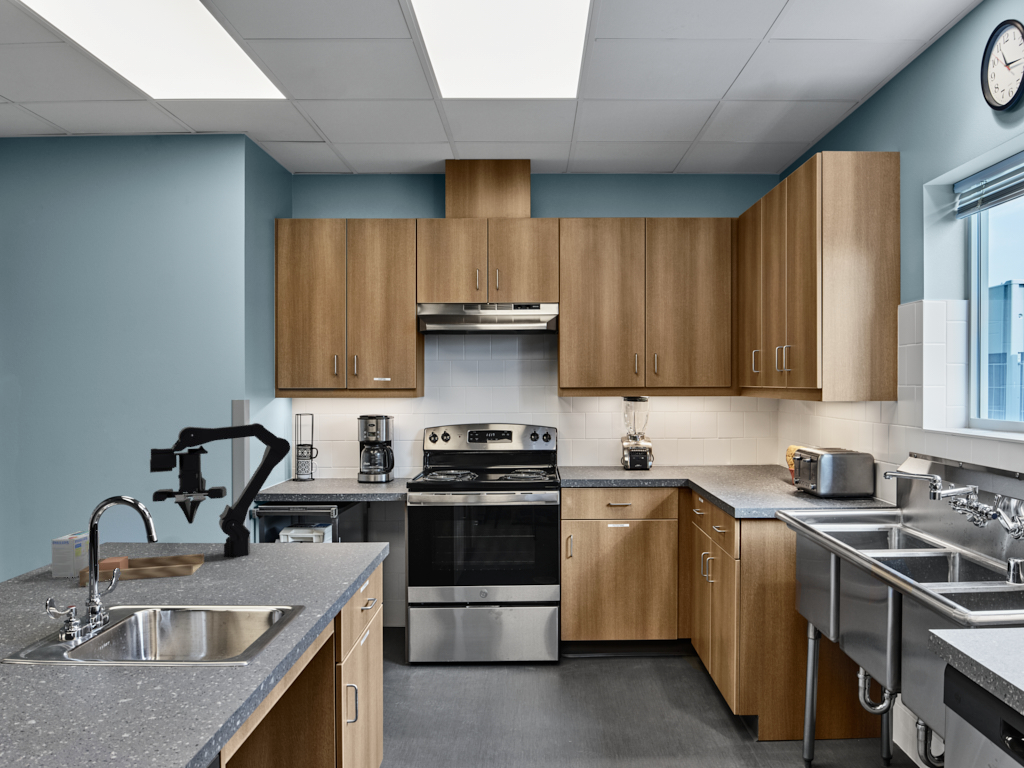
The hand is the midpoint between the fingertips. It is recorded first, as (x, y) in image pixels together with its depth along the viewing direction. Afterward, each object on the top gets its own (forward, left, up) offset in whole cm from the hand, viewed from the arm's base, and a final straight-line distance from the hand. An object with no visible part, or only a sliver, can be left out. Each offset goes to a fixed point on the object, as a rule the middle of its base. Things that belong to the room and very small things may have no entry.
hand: (190, 523), depth 187 cm
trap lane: (+9, +9, -12) cm, 18 cm away
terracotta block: (+17, +9, -11) cm, 22 cm away
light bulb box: (+30, 0, -12) cm, 32 cm away
